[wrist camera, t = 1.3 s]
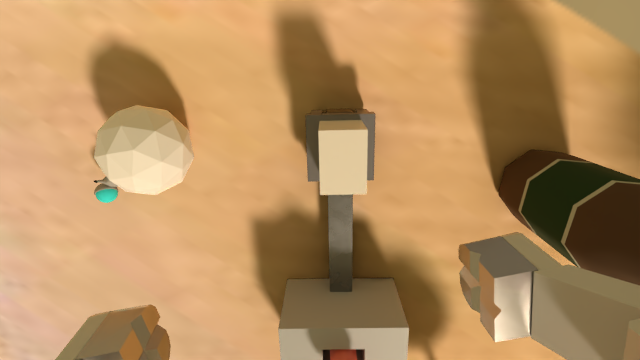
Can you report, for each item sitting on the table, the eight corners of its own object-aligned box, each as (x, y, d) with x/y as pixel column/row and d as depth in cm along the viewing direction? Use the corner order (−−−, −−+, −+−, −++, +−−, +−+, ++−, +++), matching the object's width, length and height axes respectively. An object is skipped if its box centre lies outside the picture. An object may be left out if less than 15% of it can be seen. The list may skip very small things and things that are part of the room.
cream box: (370, 109, 33) (384, 122, 25) (369, 169, 35) (382, 199, 27) (307, 110, 34) (301, 124, 25) (309, 170, 35) (304, 201, 27)
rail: (350, 108, 34) (352, 111, 32) (350, 278, 40) (352, 291, 37) (326, 109, 34) (326, 112, 32) (329, 278, 40) (329, 292, 37)
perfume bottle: (224, 162, 32) (152, 235, 36) (191, 100, 35) (129, 173, 39) (145, 147, 25) (68, 239, 29) (113, 71, 28) (47, 164, 32)
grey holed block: (393, 277, 40) (408, 327, 32) (390, 335, 42) (404, 394, 34) (287, 279, 40) (278, 328, 32) (291, 336, 42) (283, 395, 35)
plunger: (358, 312, 38) (367, 382, 29) (357, 339, 39) (366, 414, 30) (324, 312, 38) (324, 382, 29) (325, 339, 39) (325, 414, 30)
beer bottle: (489, 158, 35) (792, 326, 12) (569, 136, 34) (1048, 271, 12) (501, 226, 38) (775, 473, 15) (576, 206, 37) (989, 435, 14)
